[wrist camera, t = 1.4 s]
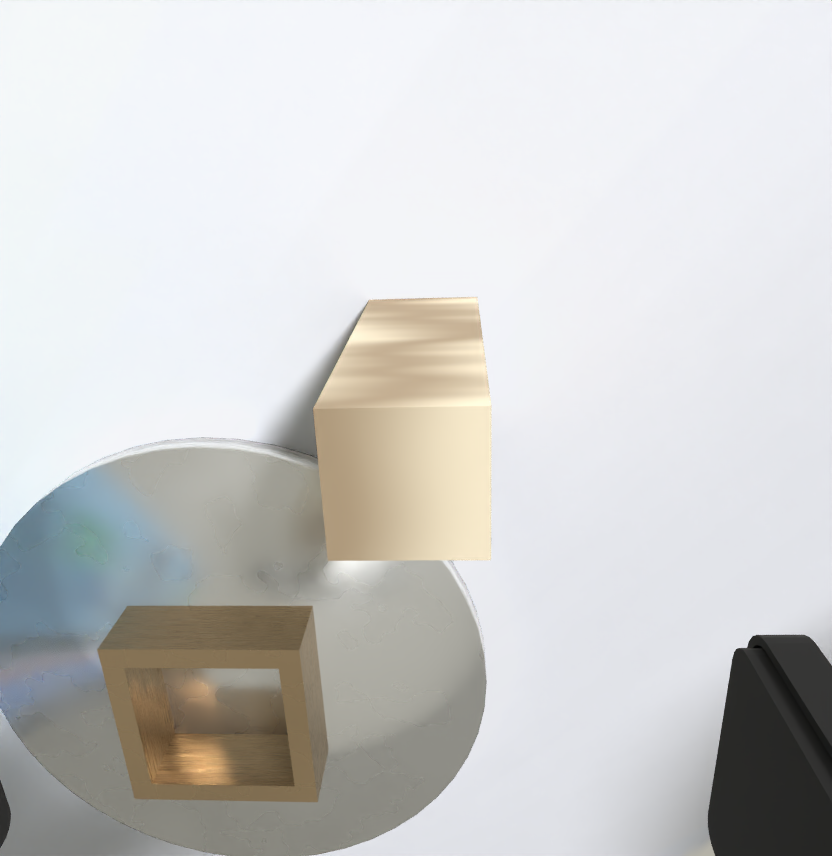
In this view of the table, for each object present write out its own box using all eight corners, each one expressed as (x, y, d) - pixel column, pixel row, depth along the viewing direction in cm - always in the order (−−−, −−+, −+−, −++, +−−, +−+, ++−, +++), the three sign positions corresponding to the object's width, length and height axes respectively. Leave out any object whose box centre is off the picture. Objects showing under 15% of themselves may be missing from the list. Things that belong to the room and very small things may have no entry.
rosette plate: (485, 433, 25) (489, 478, 22) (485, 842, 33) (488, 921, 29) (-67, 441, 26) (-141, 484, 23) (56, 833, 34) (14, 908, 31)
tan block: (477, 297, 23) (491, 405, 14) (477, 399, 25) (490, 560, 15) (369, 300, 23) (313, 408, 14) (375, 400, 25) (327, 560, 16)
